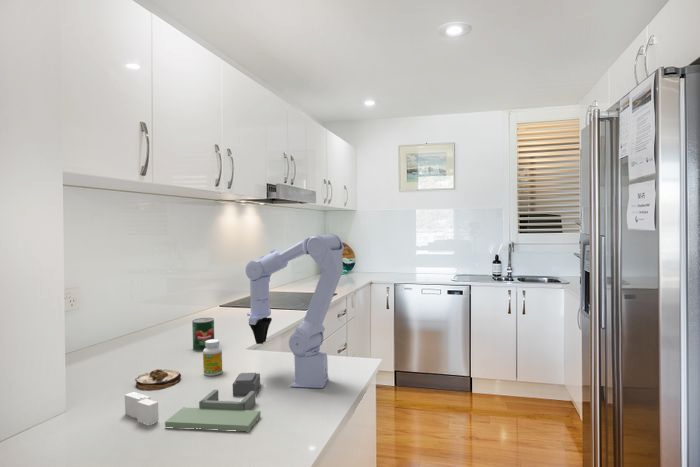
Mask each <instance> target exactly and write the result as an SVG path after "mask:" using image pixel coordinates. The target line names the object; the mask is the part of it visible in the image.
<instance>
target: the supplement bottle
mask: <svg viewBox="0 0 700 467" xmlns="http://www.w3.org/2000/svg"><path fill="white" fill-rule="evenodd" d="M205 346H206V348H205V349H204V350H203V353H202V360H203V362H202V363H203V364H202V366H203V375H204V376H210V377H211V376H212V377H213V376H217V375H220V374H222V373H223V350H222V347H220V340H219V339H217V338H216V339H215V338H214V339H211V340H207V341H205Z"/></svg>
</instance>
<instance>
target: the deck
mask: <svg viewBox="0 0 700 467" xmlns="http://www.w3.org/2000/svg"><path fill="white" fill-rule="evenodd" d="M243 397H244V396H243ZM243 397H242V400H241V401H234V400H233V401H231V400H220V399H219V389H213V390H212V391H210V392H209V393H208V394H207V395H206V396H205V397H203V398H202V399H200V401H199V402H198V406H199V407H186V406H185V407H182V408H181V409H179V410H178V411H176V412H175V413H174V414H173V415H172V416H170V417H169V418H167V419H166V420H165V421H164V428H165V427H173V428H194V429H196V428H198V429H199V428H201V429H218V430H236V431H246V432H245V433H248V432H247V431H249V430H250V429H252V428H253V427H254V426H255V424H256V423H257V422H258V421H257V419H258V418H259V417H260V416H261V410H251V409H252V408H253V406H254V405H255V404H256V394H255V391H250V392H249V393H248V394H247V395H246V396H245V397H244V398H243ZM254 403H255V404H254ZM253 404H254V405H253ZM260 418H261V417H260ZM260 418H259V419H260ZM259 419H258V420H259ZM256 421H257V422H256ZM255 422H256V423H255ZM254 423H255V424H254ZM253 425H254V426H253ZM252 426H253V427H252ZM251 427H252V428H251ZM250 431H251V430H250ZM250 431H249V432H250Z"/></svg>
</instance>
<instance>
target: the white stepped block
mask: <svg viewBox="0 0 700 467" xmlns="http://www.w3.org/2000/svg"><path fill="white" fill-rule="evenodd" d="M124 413H125V415H126V414H127V416H129V415H130V417H132V416H133V417H132V418H135V417H136V418H135V419H137V422H138V421H139V422H141V423H140V424H142V423H145V424H148V425H151V424H153V423H156V422H158V421H159V401H155V400H152V399H151V396H148V395H146V394H142V393H139V392H135V391H132V392H129V393H126V394H124ZM139 422H138V423H139ZM159 422H160V421H159ZM159 422H158V423H159ZM145 424H144V425H145ZM156 424H157V423H156ZM148 425H147V426H148ZM151 426H152V425H151Z"/></svg>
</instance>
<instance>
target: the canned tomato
mask: <svg viewBox="0 0 700 467" xmlns="http://www.w3.org/2000/svg"><path fill="white" fill-rule="evenodd" d="M191 322H192V324H191V325H192V328H191V329H192V350H193V352H198V353H199V352H201V353H202V352H203V350H204V349H205V348H206V346H205V341H207V340H211V339H215V318H213V317H199V318H195V319H192V321H191Z"/></svg>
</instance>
